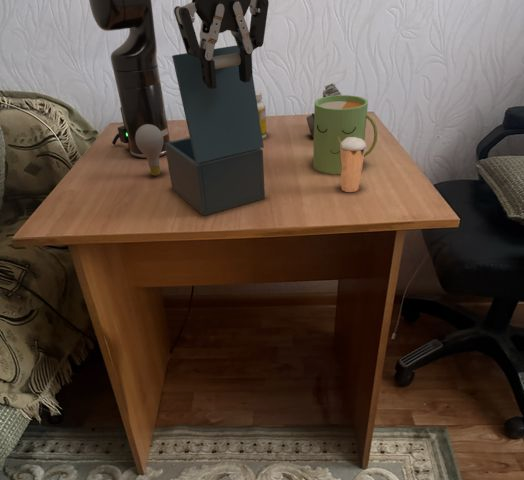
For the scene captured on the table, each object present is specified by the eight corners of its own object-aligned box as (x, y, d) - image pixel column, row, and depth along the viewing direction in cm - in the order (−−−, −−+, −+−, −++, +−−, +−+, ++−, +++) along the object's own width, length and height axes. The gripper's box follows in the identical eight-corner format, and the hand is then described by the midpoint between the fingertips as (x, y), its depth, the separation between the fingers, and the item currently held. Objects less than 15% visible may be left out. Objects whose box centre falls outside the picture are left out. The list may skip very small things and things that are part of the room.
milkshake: (329, 187, 93) (332, 132, 86) (354, 182, 94) (359, 128, 88) (340, 196, 90) (344, 140, 83) (366, 191, 91) (371, 135, 84)
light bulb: (173, 171, 103) (165, 121, 96) (162, 181, 99) (153, 129, 92) (150, 169, 104) (140, 120, 98) (138, 179, 100) (127, 128, 94)
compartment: (172, 189, 96) (164, 142, 90) (229, 174, 100) (224, 129, 95) (203, 216, 86) (196, 166, 80) (264, 198, 91) (262, 150, 85)
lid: (171, 55, 73) (183, 51, 69) (245, 44, 77) (260, 39, 73) (195, 163, 80) (207, 164, 76) (261, 147, 85) (276, 147, 81)
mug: (307, 172, 99) (308, 108, 91) (319, 154, 106) (321, 94, 99) (369, 177, 96) (376, 112, 88) (378, 158, 103) (384, 96, 95)
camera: (309, 132, 123) (298, 91, 117) (342, 120, 122) (333, 77, 115) (317, 154, 111) (306, 109, 105) (354, 141, 110) (345, 94, 103)
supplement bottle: (270, 134, 118) (269, 91, 112) (259, 141, 115) (257, 96, 108) (251, 132, 120) (249, 89, 114) (240, 138, 117) (236, 94, 111)
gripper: (251, -65, 68) (257, 72, 79) (154, -59, 63) (175, 87, 74) (279, -65, 63) (281, 81, 74) (176, -58, 58) (195, 98, 69)
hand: (228, 83), depth 74 cm, fingers closed on lid, 5 cm apart
